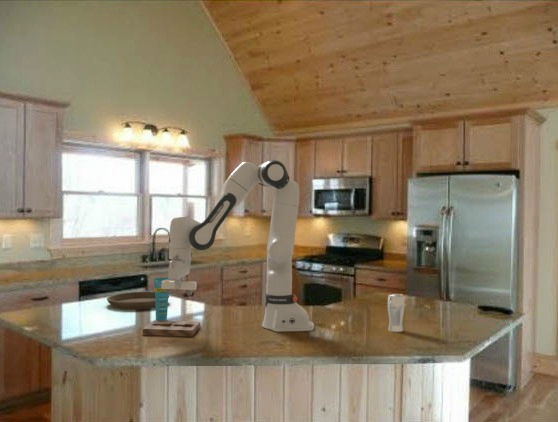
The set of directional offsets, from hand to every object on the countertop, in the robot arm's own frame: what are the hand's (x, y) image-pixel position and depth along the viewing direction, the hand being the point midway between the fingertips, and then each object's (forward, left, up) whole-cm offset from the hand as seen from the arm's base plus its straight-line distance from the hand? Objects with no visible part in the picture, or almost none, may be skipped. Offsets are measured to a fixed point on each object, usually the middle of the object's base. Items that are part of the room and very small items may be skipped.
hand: (179, 287), depth 197 cm
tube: (+12, -16, -18) cm, 26 cm away
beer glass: (-91, -10, -18) cm, 93 cm away
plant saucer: (+34, -47, -18) cm, 61 cm away
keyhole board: (+2, +2, -17) cm, 18 cm away
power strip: (0, 0, -3) cm, 3 cm away
